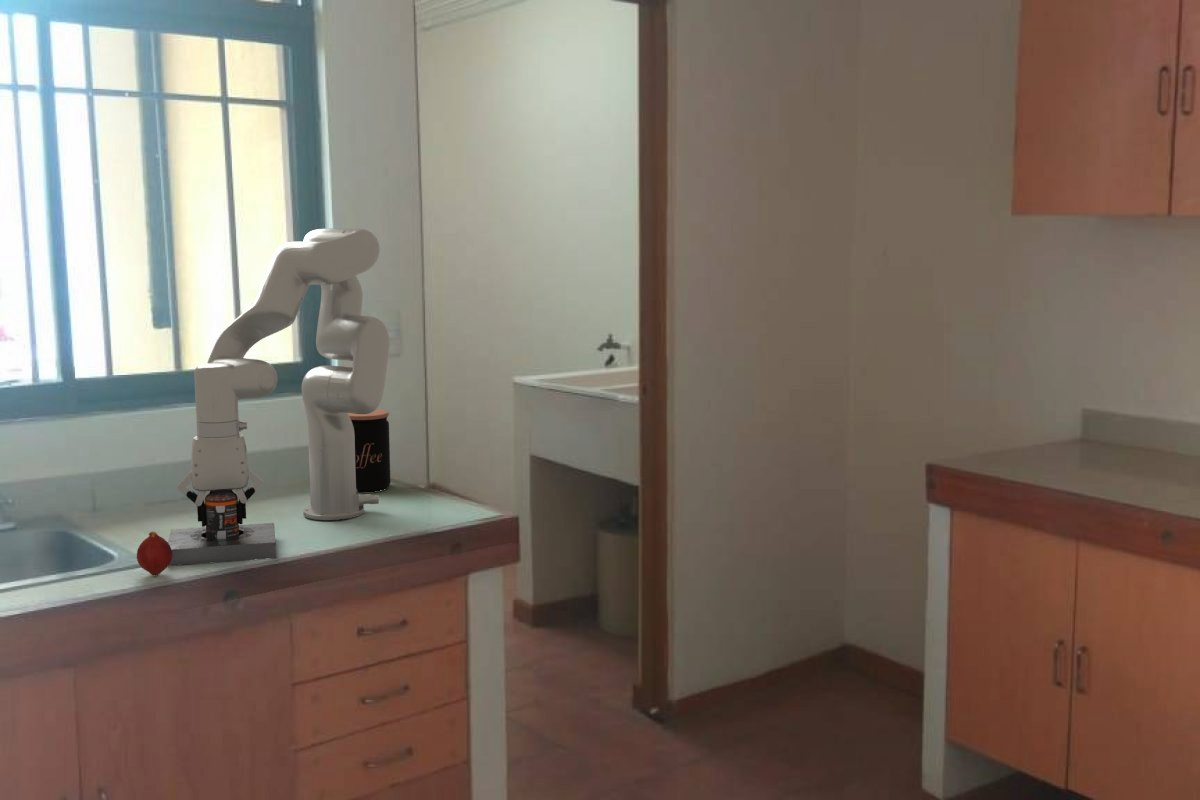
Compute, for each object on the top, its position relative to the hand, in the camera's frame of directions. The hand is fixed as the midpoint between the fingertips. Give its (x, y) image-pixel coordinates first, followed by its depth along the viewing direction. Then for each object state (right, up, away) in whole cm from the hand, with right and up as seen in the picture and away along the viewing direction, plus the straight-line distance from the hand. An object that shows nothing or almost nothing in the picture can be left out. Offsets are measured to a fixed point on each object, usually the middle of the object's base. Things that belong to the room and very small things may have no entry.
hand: (222, 522), depth 223 cm
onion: (-6, -8, -16) cm, 19 cm away
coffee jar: (+17, +2, +53) cm, 55 cm away
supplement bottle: (0, -4, 0) cm, 4 cm away
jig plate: (0, -5, -1) cm, 5 cm away
